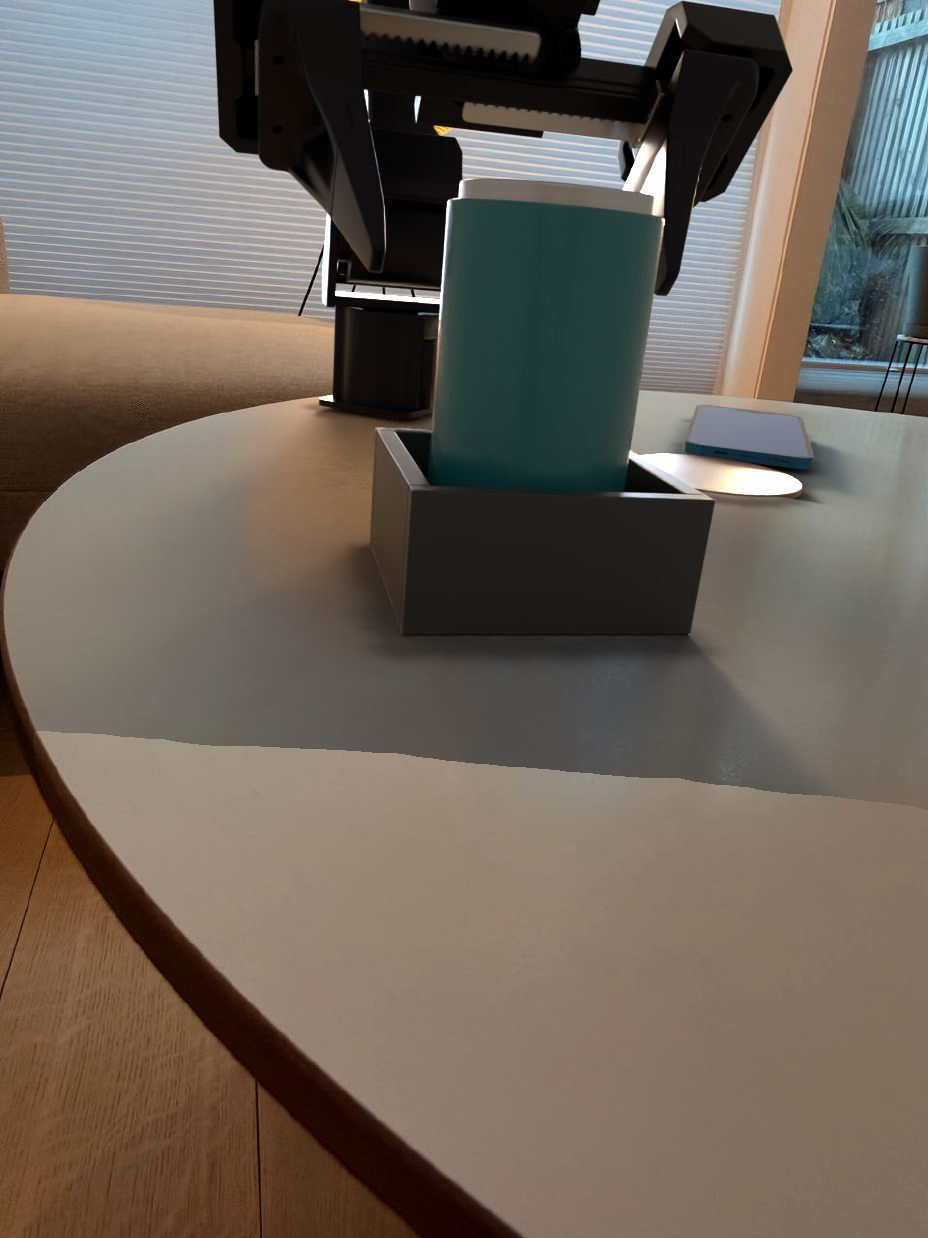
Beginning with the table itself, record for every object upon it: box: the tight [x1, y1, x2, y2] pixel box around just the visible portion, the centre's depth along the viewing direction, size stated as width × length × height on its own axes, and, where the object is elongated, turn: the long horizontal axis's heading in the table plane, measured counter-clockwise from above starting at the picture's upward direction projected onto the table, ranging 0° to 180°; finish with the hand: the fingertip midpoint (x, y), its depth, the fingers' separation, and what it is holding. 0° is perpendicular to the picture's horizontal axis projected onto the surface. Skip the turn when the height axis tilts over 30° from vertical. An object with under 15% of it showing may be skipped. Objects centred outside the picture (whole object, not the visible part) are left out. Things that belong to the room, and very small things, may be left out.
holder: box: [369, 426, 716, 638], centre depth 29 cm, size 8×8×4 cm
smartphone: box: [682, 404, 815, 470], centre depth 60 cm, size 7×1×15 cm
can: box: [428, 177, 665, 492], centre depth 28 cm, size 6×6×12 cm
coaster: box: [640, 453, 803, 500], centre depth 49 cm, size 9×9×1 cm
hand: (527, 274), depth 28 cm, fingers open, 9 cm apart
